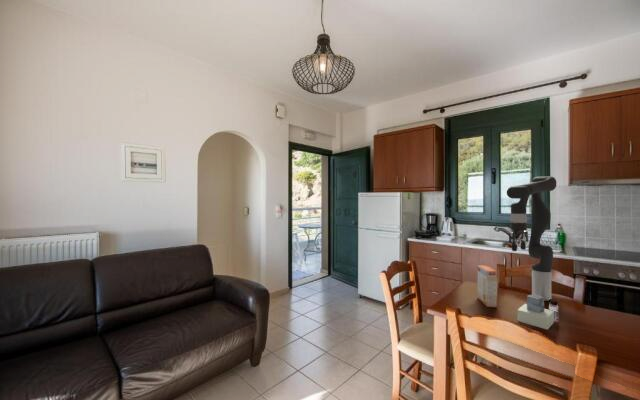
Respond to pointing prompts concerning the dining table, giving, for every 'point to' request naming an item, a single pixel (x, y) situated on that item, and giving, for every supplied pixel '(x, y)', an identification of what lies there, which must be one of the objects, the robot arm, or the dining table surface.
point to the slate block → (535, 303)
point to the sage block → (536, 317)
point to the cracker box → (487, 286)
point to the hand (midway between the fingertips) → (518, 250)
